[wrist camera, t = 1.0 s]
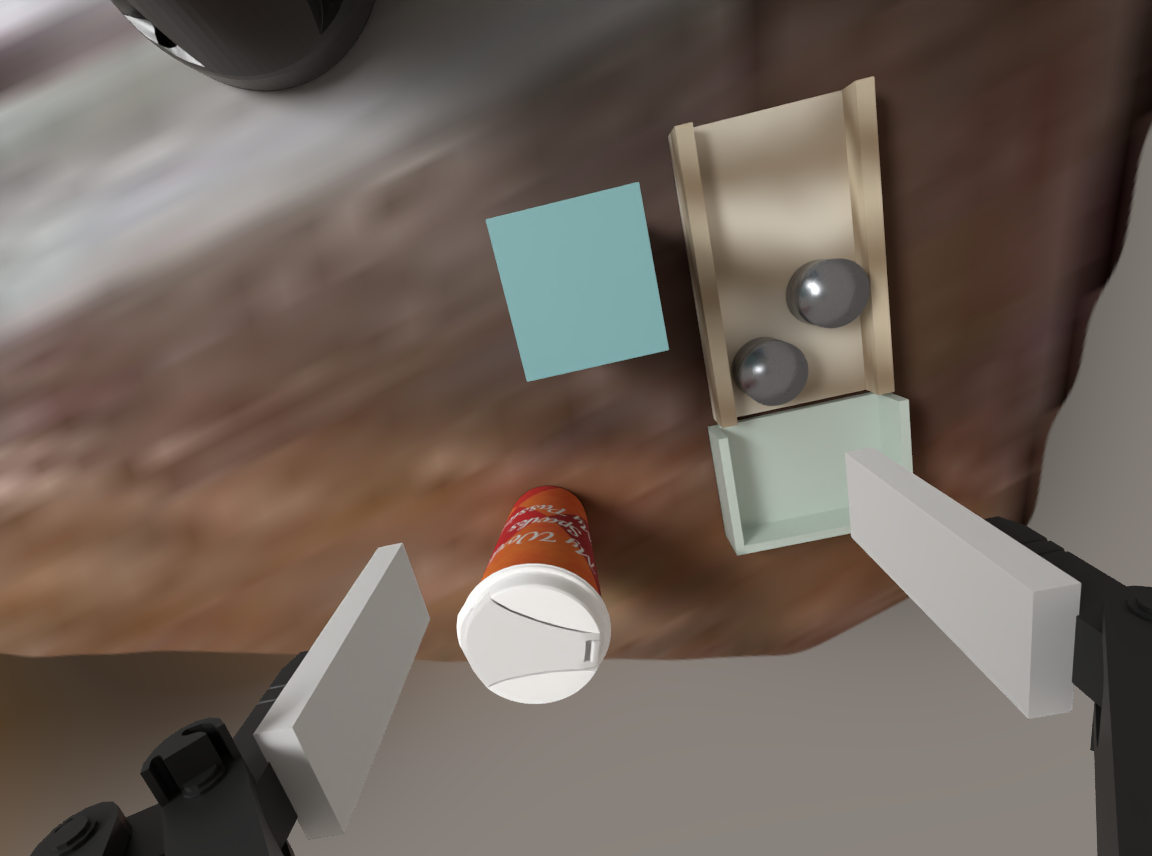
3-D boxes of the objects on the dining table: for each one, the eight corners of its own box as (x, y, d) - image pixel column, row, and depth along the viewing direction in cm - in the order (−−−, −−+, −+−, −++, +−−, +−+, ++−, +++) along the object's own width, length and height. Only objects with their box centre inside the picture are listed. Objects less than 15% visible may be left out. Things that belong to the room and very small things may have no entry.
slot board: (667, 136, 33) (674, 126, 30) (852, 90, 32) (874, 76, 30) (713, 418, 37) (722, 428, 35) (874, 384, 37) (894, 391, 34)
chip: (727, 344, 35) (738, 349, 33) (789, 330, 35) (804, 334, 33) (736, 402, 36) (747, 412, 34) (796, 389, 36) (811, 398, 34)
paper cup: (606, 475, 39) (620, 584, 25) (596, 570, 41) (604, 718, 27) (496, 466, 39) (452, 572, 25) (492, 562, 41) (449, 706, 27)
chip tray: (707, 426, 38) (718, 439, 35) (882, 389, 37) (908, 399, 34) (725, 535, 40) (737, 555, 37) (890, 502, 39) (915, 520, 36)
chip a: (782, 267, 34) (797, 267, 31) (846, 252, 34) (867, 251, 31) (789, 330, 35) (804, 335, 33) (852, 316, 35) (872, 320, 32)
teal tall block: (522, 239, 34) (485, 219, 21) (615, 217, 34) (639, 181, 20) (546, 340, 36) (527, 381, 23) (635, 320, 36) (668, 350, 22)
